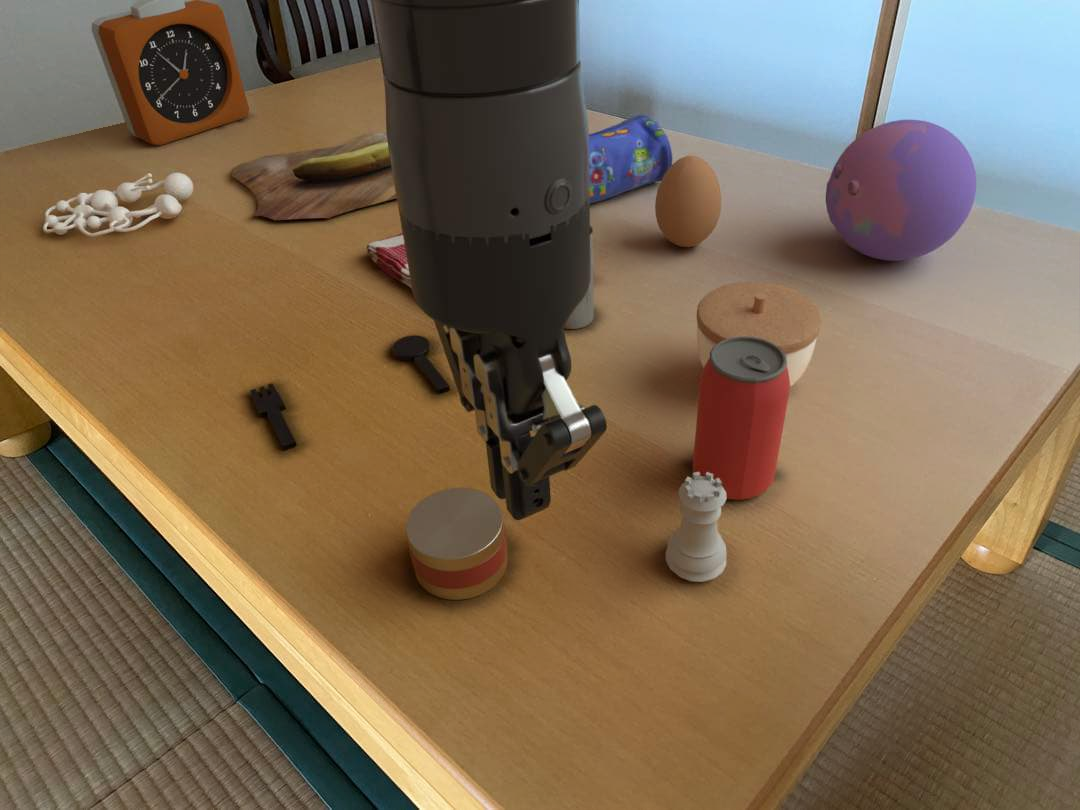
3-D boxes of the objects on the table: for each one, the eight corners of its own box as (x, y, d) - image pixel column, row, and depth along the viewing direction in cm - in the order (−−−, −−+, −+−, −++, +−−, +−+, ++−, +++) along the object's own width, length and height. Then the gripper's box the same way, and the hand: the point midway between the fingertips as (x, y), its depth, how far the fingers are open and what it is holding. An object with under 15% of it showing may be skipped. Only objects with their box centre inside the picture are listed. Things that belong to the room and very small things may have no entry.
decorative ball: (793, 234, 99) (813, 110, 90) (904, 215, 102) (934, 92, 92) (861, 295, 88) (891, 160, 79) (984, 272, 90) (1028, 138, 81)
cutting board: (266, 238, 106) (258, 210, 103) (218, 170, 125) (210, 145, 122) (505, 172, 118) (502, 146, 116) (428, 119, 137) (425, 96, 135)
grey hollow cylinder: (560, 304, 90) (556, 217, 83) (599, 310, 88) (599, 223, 82) (544, 325, 86) (539, 237, 80) (585, 333, 85) (583, 243, 78)
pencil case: (535, 231, 103) (531, 158, 97) (504, 207, 109) (498, 137, 103) (677, 188, 111) (681, 118, 105) (641, 168, 117) (642, 100, 111)
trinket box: (782, 343, 82) (796, 259, 76) (827, 409, 73) (846, 321, 68) (678, 356, 81) (683, 272, 75) (711, 425, 73) (720, 337, 67)
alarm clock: (153, 149, 133) (104, 12, 120) (129, 137, 138) (80, 5, 125) (253, 116, 143) (218, -13, 130) (227, 106, 148) (191, -19, 135)
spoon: (462, 385, 79) (461, 379, 78) (426, 399, 78) (425, 393, 77) (421, 336, 86) (421, 331, 86) (388, 348, 85) (386, 342, 84)
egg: (730, 247, 98) (740, 159, 91) (680, 266, 95) (686, 176, 88) (689, 224, 103) (695, 139, 96) (640, 241, 100) (643, 154, 93)
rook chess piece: (653, 565, 60) (657, 488, 55) (686, 530, 63) (693, 453, 58) (705, 596, 58) (714, 518, 53) (737, 558, 61) (749, 480, 56)
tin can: (479, 613, 58) (473, 572, 55) (395, 582, 60) (385, 541, 58) (524, 544, 63) (520, 502, 60) (445, 517, 65) (438, 476, 63)
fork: (303, 443, 73) (302, 438, 73) (277, 453, 72) (275, 448, 72) (275, 387, 80) (273, 382, 80) (250, 395, 79) (248, 390, 79)
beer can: (733, 516, 64) (751, 395, 56) (675, 471, 68) (683, 353, 61) (790, 479, 67) (814, 359, 59) (730, 438, 71) (745, 321, 64)
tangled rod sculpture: (29, 258, 107) (13, 231, 104) (67, 202, 118) (53, 176, 115) (177, 242, 107) (164, 214, 104) (201, 188, 118) (191, 161, 115)
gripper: (344, 153, 35) (405, 452, 46) (482, 287, 26) (519, 624, 37) (499, 116, 38) (523, 407, 49) (676, 225, 28) (656, 556, 39)
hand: (521, 499), depth 43 cm, fingers closed
